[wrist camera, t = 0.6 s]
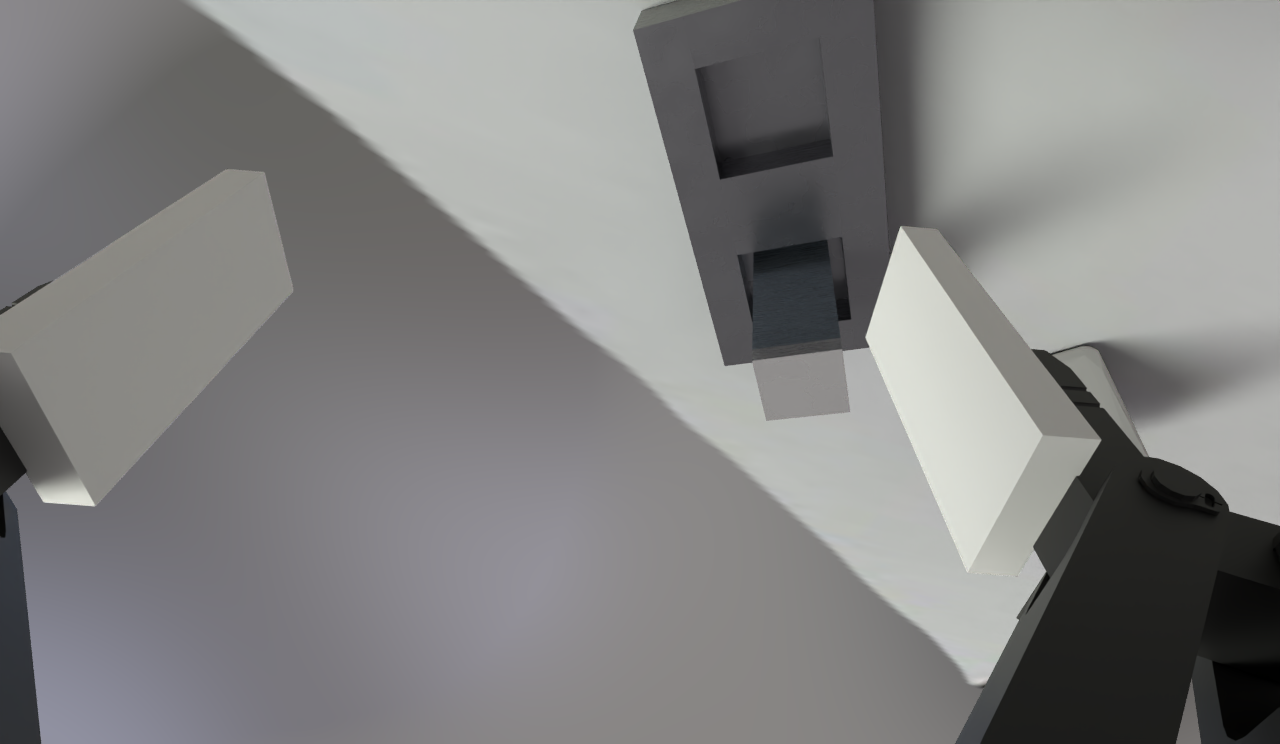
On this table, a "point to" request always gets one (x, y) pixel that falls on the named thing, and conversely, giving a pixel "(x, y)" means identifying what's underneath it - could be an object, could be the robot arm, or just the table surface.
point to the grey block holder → (777, 180)
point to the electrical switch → (1101, 387)
